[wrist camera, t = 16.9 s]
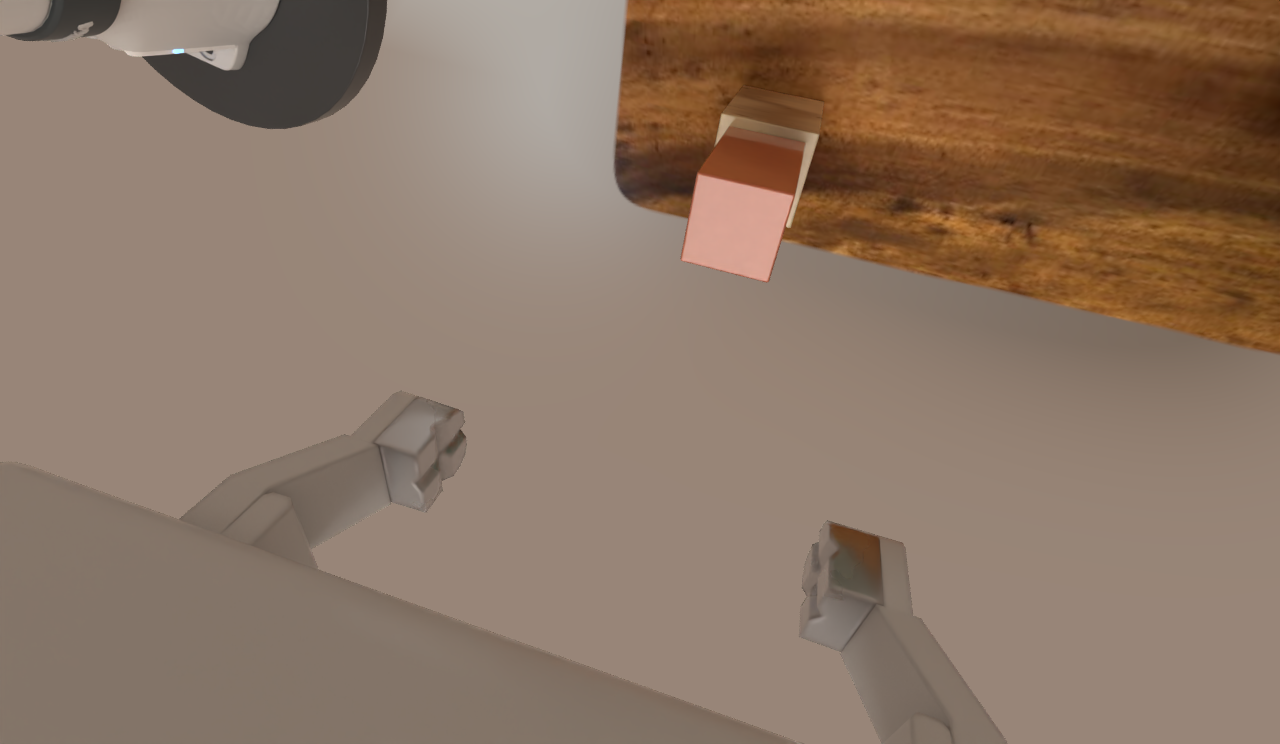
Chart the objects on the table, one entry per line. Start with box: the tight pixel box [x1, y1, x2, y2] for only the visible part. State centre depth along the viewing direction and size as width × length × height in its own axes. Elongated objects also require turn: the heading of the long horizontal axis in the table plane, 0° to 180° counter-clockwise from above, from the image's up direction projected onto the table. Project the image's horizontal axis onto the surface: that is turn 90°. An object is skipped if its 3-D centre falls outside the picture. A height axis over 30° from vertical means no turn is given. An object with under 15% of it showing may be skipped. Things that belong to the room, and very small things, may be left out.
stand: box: [714, 85, 824, 228], centre depth 33 cm, size 5×5×8 cm
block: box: [681, 126, 806, 282], centre depth 27 cm, size 4×4×8 cm
